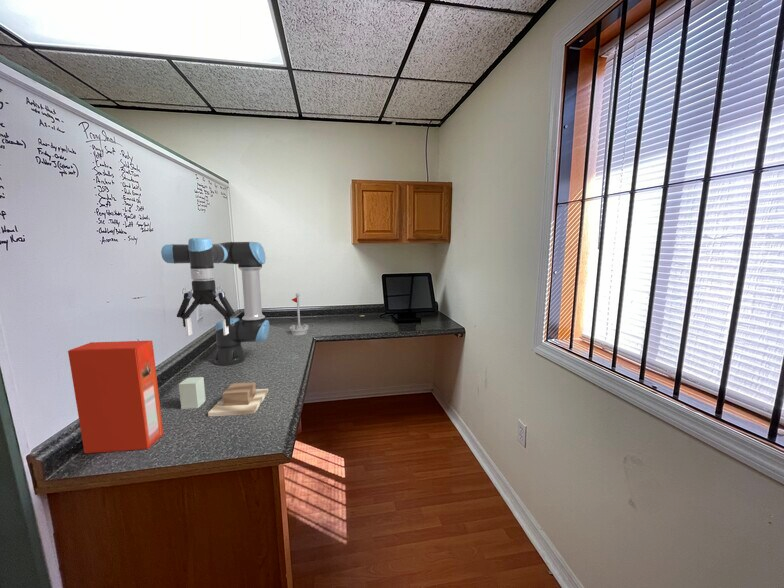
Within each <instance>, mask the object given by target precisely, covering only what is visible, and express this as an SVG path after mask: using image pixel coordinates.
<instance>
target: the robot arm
mask: <svg viewBox="0 0 784 588" xmlns="http://www.w3.org/2000/svg"><path fill="white" fill-rule="evenodd" d="M160 254H161V259H162V260H163V261H164V262H165V263H167V264H174V265H175V264H189V265H190V267H189V268H190V277H191V280H192V281H191V288H192V292H190V291H189V292H184V293H183V300H182V302H181V305H180V307H179V309H178V311H177V314H176V317H177V318H180V319H182V325H183V326H182V327H184V328H185V333H186V335H185V336H186V337H189V336H191V335H194V333H193V324H192V323H193V322H192V321H193V320H192V317H190V316H191V315H192V313H193V312H194V311H195V310H196V309H197V307H198V306H201V305H207V306H208V305H211V306H213V307H214V309H215V310H216V311H218V312H219V314H221V316H223V318H222V319H221V320H219V321H217V322H216V323H215V335H216V336H215V337H216V338H215V339H216V352H215V356H214V364H215V365H217V366H231V365H235V364H238V363H242V362H243V361H245V360H246V353H245V351H244V349H243V346H242V343H250V342H251V343H253V342H255V343H258V342H264V341H266V340H267V338H268V336H269V332H270V321H269V320H268V319H266V315H264V314H263V310H262V294H261V280H260V276H261V275H260V270H261V269H263V265H264V264H266V259H267V258H266V252H265V248H264V246H263V245H262V244H261V243H260V242H258V241H257V242H256V241H228V242H221V243H220V242H219V243H213V241H212V239H211V238H206V237H205V238H203V237H191V238H189V239H188V243H187V244H183V243H181V244H174V243H171V244H165V245H163V246H162V248H161V251H160ZM220 263H221V264H228V265H237V268H238V269H239V270H240V271H241V280H242V292H243V293H242V295H243V310H244V315H243V316H242V318H241V320H240V318H239V317H233V316H235V315H236V312H235V311H234V309H233V308H232V306H231V304H230V303H229V300H228V299H227V298H226V293H225V292H224V291H220V292H217V291H216V289H217V288H216V280H215V277H216V275H215V269H214V268H215V266H214V265H215V264H220ZM192 298H193V299H194V300H193V301H192V302H191V299H192ZM216 298H218V299H219V301H220V302H221V303H219V301H218V300H217V299H216ZM190 302H191V305H190V306H189V304H190ZM221 304H222V305H221ZM188 306H189V307H188Z"/></svg>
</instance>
